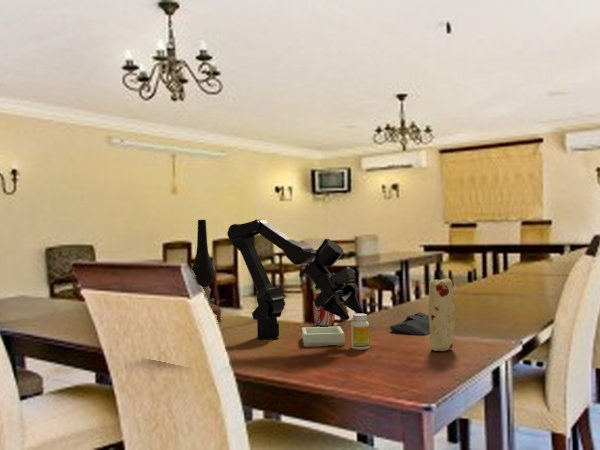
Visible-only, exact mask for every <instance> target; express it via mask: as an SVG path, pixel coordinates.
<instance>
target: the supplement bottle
mask: <svg viewBox="0 0 600 450" xmlns="http://www.w3.org/2000/svg"><path fill="white" fill-rule="evenodd" d="M367 319H368V314H366V313H364V314H358V313H354V314H352V321H351V322H350V347H351V348H352V349H354V350H360V351H361V350H362V351H363V350H368V349H369V348H370V345H371V344H370V343H371V342H370V323H369V321H367Z"/></svg>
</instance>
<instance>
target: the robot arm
mask: <svg viewBox="0 0 600 450" xmlns="http://www.w3.org/2000/svg"><path fill="white" fill-rule="evenodd" d="M226 235H227V238H228V240H229V241H230V243H231V244H232V245H233V246H234V247H235V248H236V249H237V250H238V251H240V253H241V257H242V258H243V259H242V260H243V261H244V262H245V265H246V267H247V270H248V272H249V274H250V277H251V280H252V281H253V285H254V286H255V288H256V302H257V306H256V308H255V309H254V310H253V311H252V313H251V316H252V318H253V320H256V321H257V322H256V323H257V325H256V326H257V329H256V330H257V331H256V333H257V336H256V340H277V339H278V338H279V336H280V322H279V321H278V318H280V317H281V316H282V313H283V310H284V309H285V306H286V302H285V299H286V298H285V296H284V294H283V292H282V289H281V288H280V287H274V286H273V285H272V283H271V280H270V279H269V276H268V274H267V273H266V269H265V267H264V265H263V263H262V260H261V258H260V256H259V254H258V251H257V249H256V247H255V242H256V241H255V240H256V237H255V236H257V235H260V236H261V237H263V238H264V239H266V240H267V241H269V242H270V243H271V244H273V245H275V246H276V247H277V248H279V249H280V250H281V251H282V252H283V253H284V256H285V257H286V258H287V259H288V260H289V261H290V262H291V263H292V264H293V265H296V266H302V265H305V266H304V267H300V268H299V274H298V275H299V278H304V277H306V278H307V277H308V278H309V280H310V281H312V283H313V284H314V285H315V286H314V287H313V288H314V289H315V290H316V291H317V290H319V291H321V292H320V293H319V294H318V296H317V297H316V298H315V299H314V298H313V306H314V305H315V306H316V307H317V308H318V309H320V308H321V309H322V310H325V311H328V312H330V313H332V314H334V316H337V317H339V318H341V319H344V320H346V321H348V320H349V319H350V316H349V314H348V313H347V311H346V309H345V308H344V306H345V307H347V308H348V309H350V310H352V311H353V312H354V313H355V314H365V313H364V310H363V308H362V306H361V303H360V301H359V299H358V293H359V289H360V287H359V286H358V285H357V284H356V283H348V284H346V283H347V282H350V281H351V280H354V279H356V276H355V275H356V271H355V270H354V268H351V267H350V266H347V267H345V268H343V269H342V270H340V271H338V272H336V273H335V272H332V273H331V272H330V271H329V270H328V267H331V268H332V267H333V266H334V265H335V264H336V263H337V262H338V260H339V259H340V258H341V257H342V255H343V254H344V250H343V249H344V248H343V247H341V246H340V244H337V243H336V242H334V240H333V241H332V240H331V239H330V238H324V239H323V241H322V243H321V244H320V246H319V247H318V248H317V249H314V248H313V247H311V246H310V245H308V244H305V243H303V242H300V241H296V240H294V239H292V238H291V237H289V236H288V235H287V234H285V233H283V232H282V231H281V230H279V229H278V228H276V227H275V226H273V225H272V224H270V222H268V221H267V220H266V219H254V220H251V221H249V222H244V223H233V224H231V225H230V226H229V227H228V229H227V234H226ZM340 302H341V303H342V304H341V303H340Z"/></svg>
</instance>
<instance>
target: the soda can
mask: <svg viewBox="0 0 600 450" xmlns="http://www.w3.org/2000/svg"><path fill="white" fill-rule="evenodd" d="M320 292H321V291H320V290H319V291H315V294H314V297H313V300H314V299H315V298H316V297H317V296H318V294H319V293H320ZM313 317H314V319H313V320H314V325H316V326H317V325H319V326H318V327H320V326H328V327H332V325H333V324H335V323H334V322H335V314H332V313H330V312H328V311H325V310H322V309H321V308H320V309H318V308H317V307H316V306H315V305H314V304H313Z"/></svg>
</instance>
